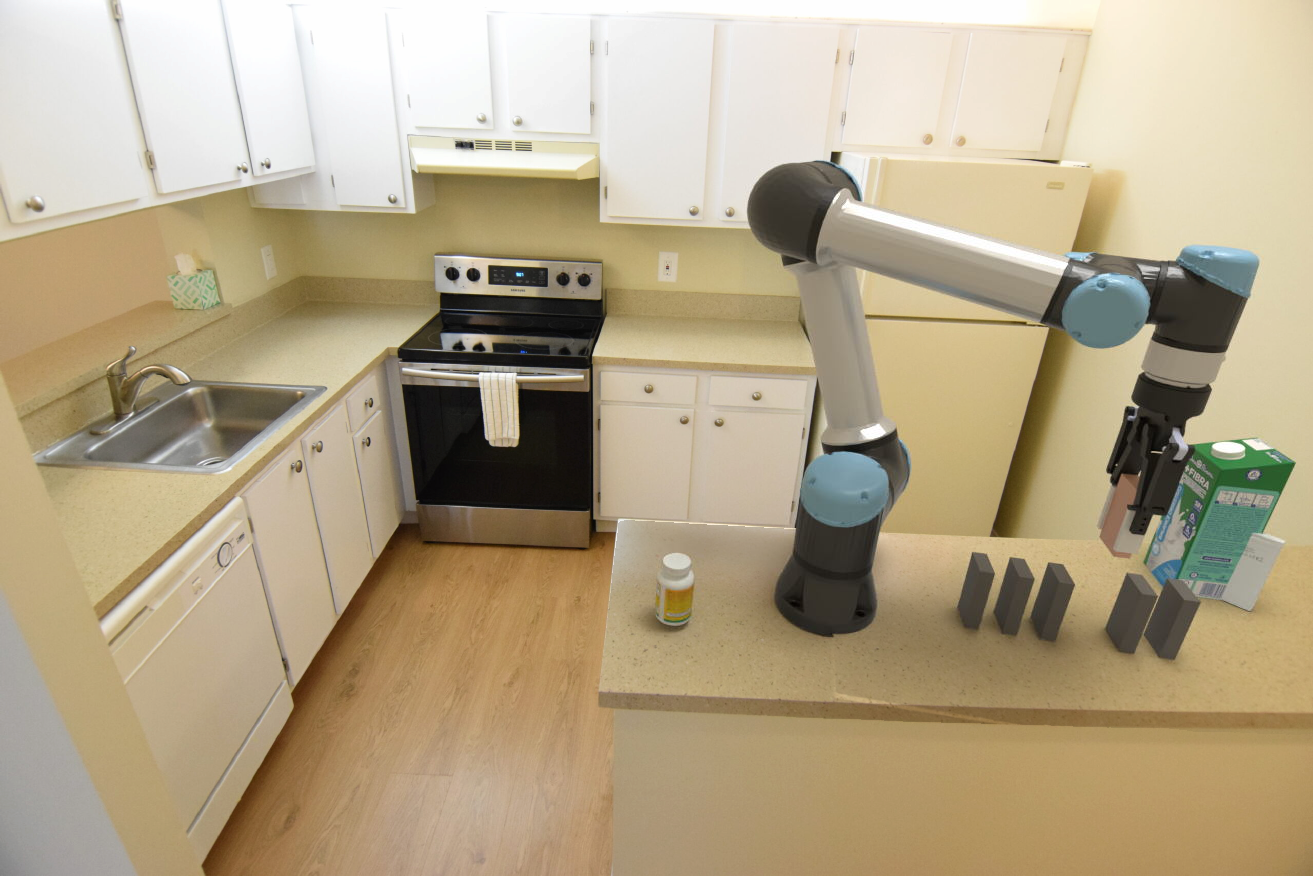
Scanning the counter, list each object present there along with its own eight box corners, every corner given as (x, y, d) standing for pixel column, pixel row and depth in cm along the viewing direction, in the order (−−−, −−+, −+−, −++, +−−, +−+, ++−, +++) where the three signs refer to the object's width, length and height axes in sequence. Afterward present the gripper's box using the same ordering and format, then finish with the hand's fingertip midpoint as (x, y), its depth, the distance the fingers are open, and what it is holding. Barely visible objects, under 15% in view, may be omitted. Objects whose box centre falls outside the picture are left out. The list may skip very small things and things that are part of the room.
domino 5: (1118, 651, 98) (1142, 593, 93) (1105, 628, 102) (1126, 572, 98) (1134, 653, 97) (1158, 596, 93) (1119, 630, 102) (1142, 574, 98)
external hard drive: (1191, 582, 113) (1220, 516, 108) (1252, 608, 107) (1286, 540, 102) (1188, 585, 112) (1217, 520, 107) (1250, 612, 106) (1283, 544, 101)
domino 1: (964, 628, 101) (980, 571, 97) (957, 606, 105) (972, 551, 101) (978, 630, 101) (995, 573, 96) (971, 608, 105) (986, 553, 101)
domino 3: (1040, 639, 99) (1059, 582, 95) (1030, 617, 104) (1048, 562, 100) (1055, 641, 99) (1075, 584, 95) (1044, 619, 103) (1063, 564, 99)
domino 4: (1113, 556, 92) (1137, 490, 88) (1099, 536, 97) (1121, 473, 92) (1129, 558, 92) (1154, 492, 88) (1114, 538, 96) (1137, 475, 92)
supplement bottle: (647, 614, 101) (649, 559, 97) (672, 598, 104) (675, 545, 100) (674, 632, 98) (677, 576, 94) (699, 615, 101) (703, 561, 97)
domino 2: (1001, 633, 100) (1019, 576, 96) (993, 612, 105) (1009, 557, 100) (1016, 635, 100) (1034, 579, 96) (1007, 614, 104) (1024, 558, 100)
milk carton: (1141, 563, 118) (1194, 430, 108) (1199, 570, 117) (1258, 436, 107) (1168, 595, 110) (1228, 455, 100) (1230, 603, 109) (1297, 461, 99)
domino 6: (1159, 657, 97) (1184, 599, 93) (1143, 634, 101) (1166, 578, 97) (1174, 660, 96) (1200, 602, 92) (1158, 636, 101) (1182, 580, 97)
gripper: (1253, 407, 75) (1179, 582, 85) (1174, 358, 91) (1119, 510, 101) (1177, 400, 77) (1112, 573, 86) (1113, 353, 93) (1064, 504, 102)
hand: (1116, 539), depth 94 cm, fingers closed on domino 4, 5 cm apart
